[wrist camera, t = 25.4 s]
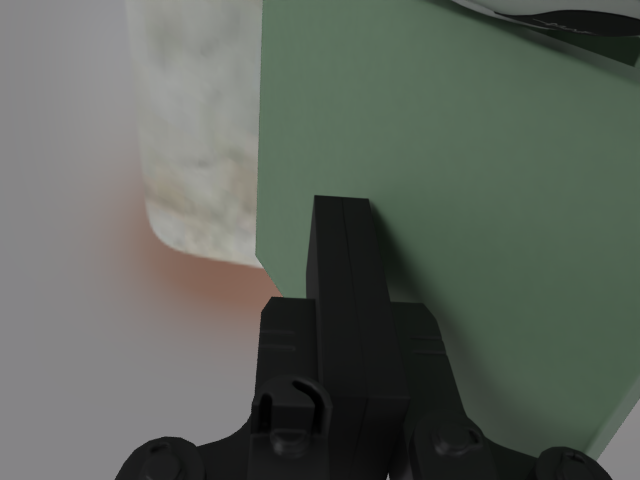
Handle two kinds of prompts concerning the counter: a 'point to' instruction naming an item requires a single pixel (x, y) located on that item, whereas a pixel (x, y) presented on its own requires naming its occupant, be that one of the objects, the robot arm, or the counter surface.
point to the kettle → (566, 15)
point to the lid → (469, 197)
